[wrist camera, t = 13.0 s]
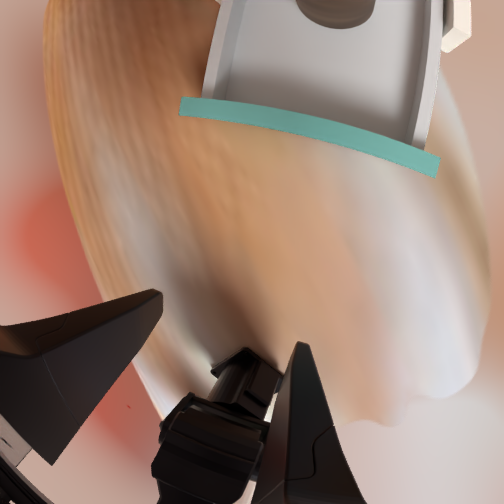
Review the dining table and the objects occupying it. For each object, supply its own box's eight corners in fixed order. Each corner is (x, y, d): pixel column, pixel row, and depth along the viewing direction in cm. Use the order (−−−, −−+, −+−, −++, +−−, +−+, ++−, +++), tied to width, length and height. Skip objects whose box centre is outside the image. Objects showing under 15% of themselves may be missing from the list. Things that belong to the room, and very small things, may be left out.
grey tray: (417, 169, 16) (435, 178, 13) (207, 117, 19) (178, 115, 16) (441, -16, 9) (456, -39, 5) (246, -52, 12) (228, -76, 8)
